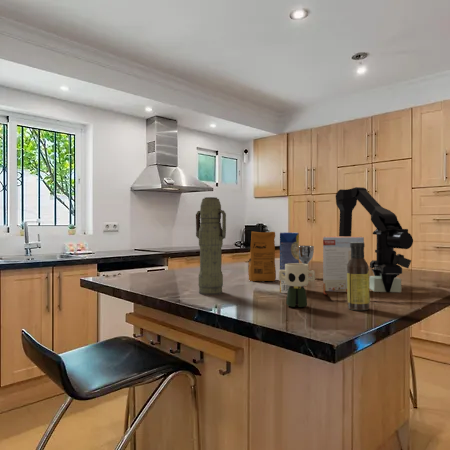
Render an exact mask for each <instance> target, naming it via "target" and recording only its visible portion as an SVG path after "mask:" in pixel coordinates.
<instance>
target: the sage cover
mask: <svg viewBox="0 0 450 450" xmlns="http://www.w3.org/2000/svg"><path fill="white" fill-rule="evenodd" d="M369 290H371V291H373V292H374V293H375V292H376V293H377V292H378V293H379V292H380V293H387V292H386V290H385V287H384V284H383V281H382V279H381V276H375V275H369ZM389 293H402V278H400V277H398V276H396V277H395V278H394V280H393V283H392V287H391V290H390V292H389Z"/></svg>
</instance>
